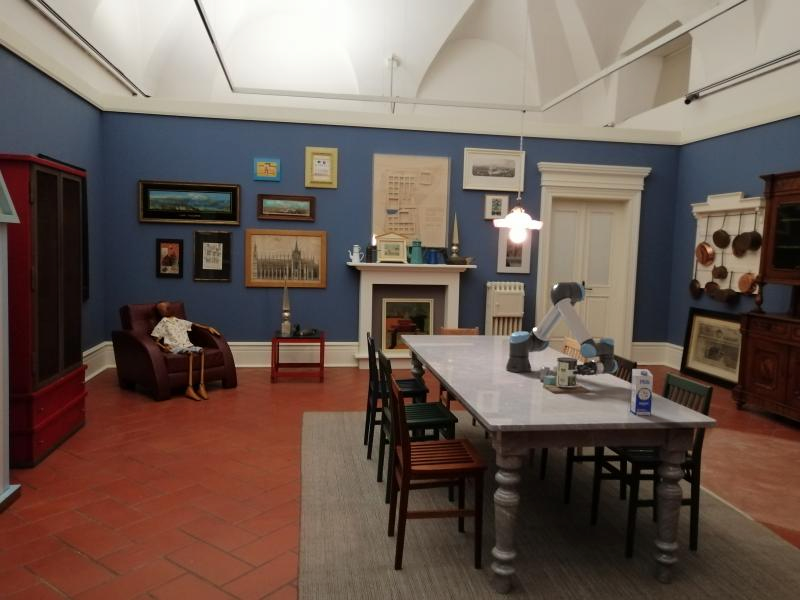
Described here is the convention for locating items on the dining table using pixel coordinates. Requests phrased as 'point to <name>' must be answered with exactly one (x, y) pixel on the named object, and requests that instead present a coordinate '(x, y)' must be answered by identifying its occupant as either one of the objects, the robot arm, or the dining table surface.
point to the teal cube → (550, 380)
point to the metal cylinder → (544, 373)
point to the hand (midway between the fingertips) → (560, 370)
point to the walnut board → (565, 389)
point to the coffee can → (562, 368)
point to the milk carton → (641, 392)
